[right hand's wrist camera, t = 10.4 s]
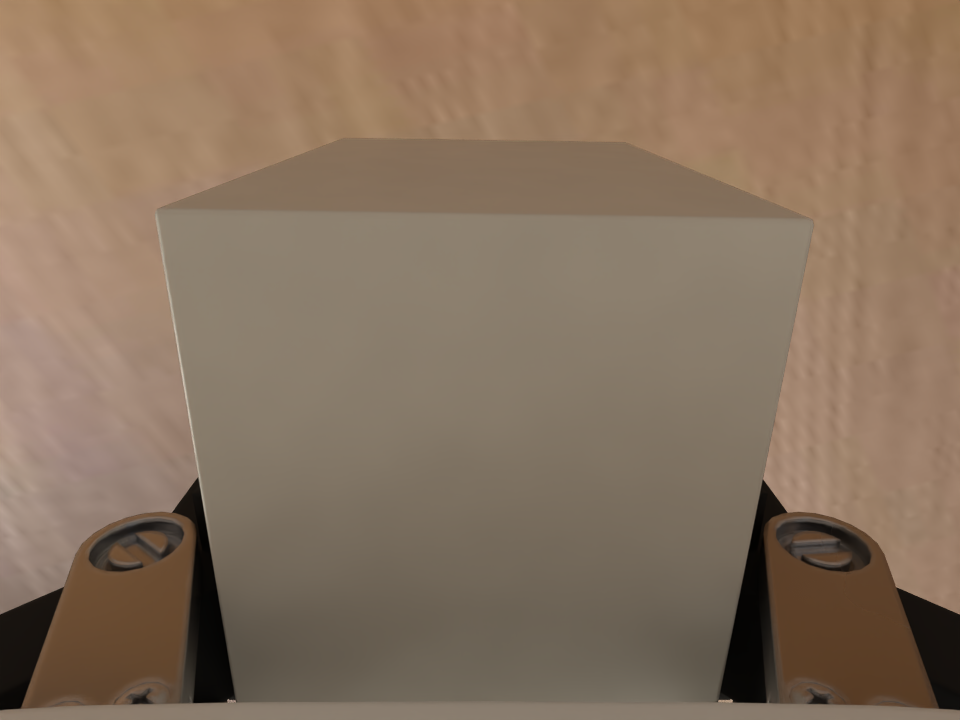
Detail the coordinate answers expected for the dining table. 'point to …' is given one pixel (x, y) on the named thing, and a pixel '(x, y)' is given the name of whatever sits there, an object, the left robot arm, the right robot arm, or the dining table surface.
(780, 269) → the bar
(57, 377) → the dining table surface
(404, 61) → the dining table surface
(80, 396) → the dining table surface
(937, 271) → the dining table surface
